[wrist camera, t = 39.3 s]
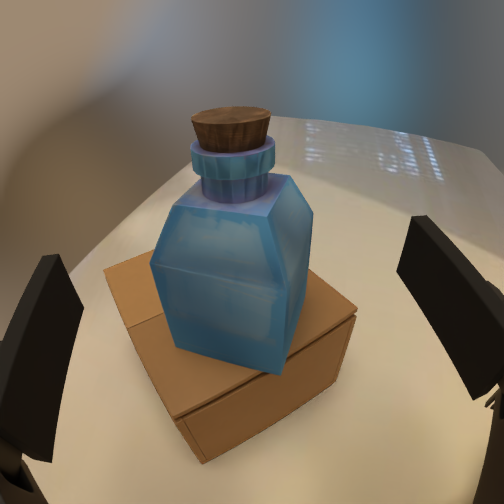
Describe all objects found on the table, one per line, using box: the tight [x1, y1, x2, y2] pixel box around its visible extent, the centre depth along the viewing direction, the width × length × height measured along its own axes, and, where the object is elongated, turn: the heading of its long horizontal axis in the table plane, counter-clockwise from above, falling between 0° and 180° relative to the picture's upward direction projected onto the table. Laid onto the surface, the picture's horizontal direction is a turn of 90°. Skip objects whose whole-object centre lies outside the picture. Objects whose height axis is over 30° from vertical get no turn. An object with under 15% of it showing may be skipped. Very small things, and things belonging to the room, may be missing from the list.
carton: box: [106, 269, 358, 464], centre depth 24 cm, size 14×13×9 cm
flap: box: [103, 250, 164, 329], centre depth 24 cm, size 7×13×1 cm, turn 124°
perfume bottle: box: [149, 106, 313, 376], centre depth 15 cm, size 6×6×12 cm
